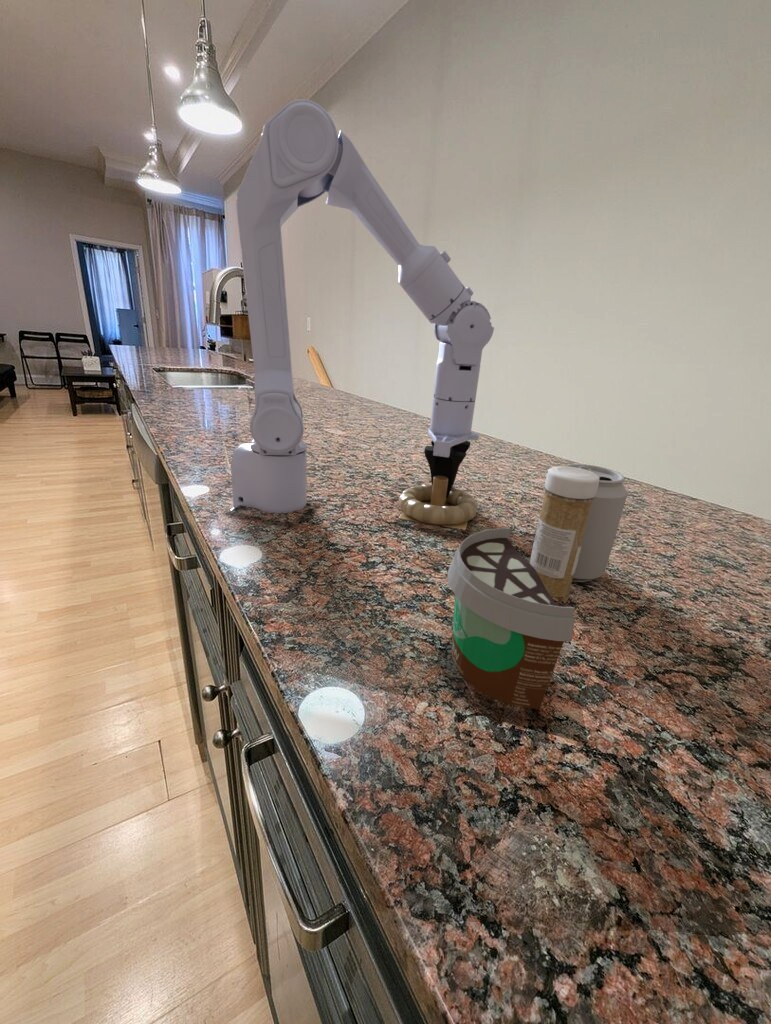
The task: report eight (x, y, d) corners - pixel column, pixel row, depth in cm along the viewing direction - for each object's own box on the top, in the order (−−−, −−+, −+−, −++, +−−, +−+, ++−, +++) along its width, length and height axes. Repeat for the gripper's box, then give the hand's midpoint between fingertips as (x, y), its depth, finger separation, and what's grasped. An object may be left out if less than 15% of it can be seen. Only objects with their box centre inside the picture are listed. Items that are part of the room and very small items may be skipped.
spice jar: (577, 600, 46) (611, 475, 41) (548, 612, 43) (581, 482, 38) (541, 579, 49) (568, 462, 44) (512, 589, 47) (538, 467, 42)
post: (397, 526, 60) (401, 482, 58) (411, 503, 68) (415, 464, 66) (464, 537, 58) (471, 493, 56) (470, 513, 66) (477, 473, 64)
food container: (424, 623, 41) (436, 523, 37) (489, 623, 41) (508, 525, 37) (454, 739, 29) (476, 612, 25) (544, 737, 30) (579, 613, 26)
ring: (389, 519, 59) (391, 502, 58) (408, 493, 69) (409, 478, 68) (471, 533, 56) (474, 516, 56) (479, 504, 66) (481, 489, 65)
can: (571, 591, 47) (599, 485, 43) (521, 559, 53) (541, 463, 49) (617, 578, 51) (648, 478, 46) (565, 549, 57) (588, 458, 52)
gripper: (479, 409, 53) (464, 514, 58) (487, 395, 66) (474, 481, 71) (421, 403, 55) (412, 505, 60) (440, 390, 68) (430, 475, 73)
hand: (442, 492), depth 66 cm, fingers open, 3 cm apart
